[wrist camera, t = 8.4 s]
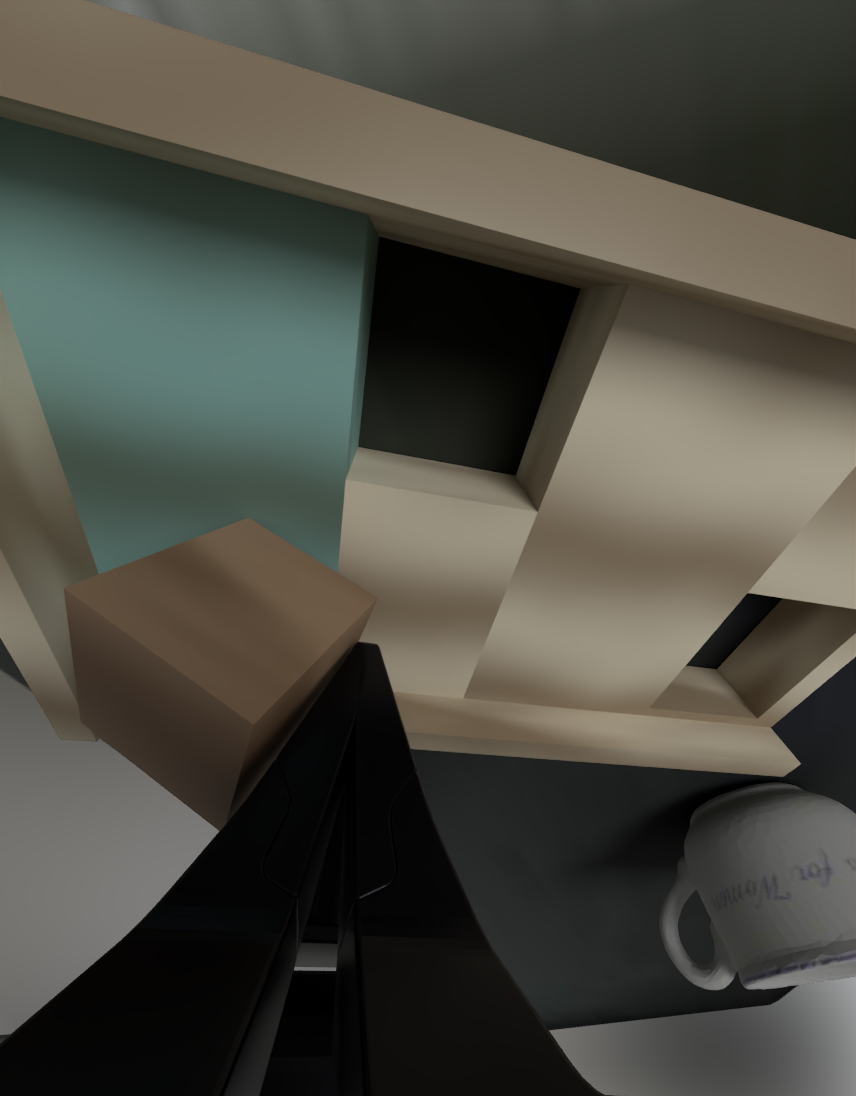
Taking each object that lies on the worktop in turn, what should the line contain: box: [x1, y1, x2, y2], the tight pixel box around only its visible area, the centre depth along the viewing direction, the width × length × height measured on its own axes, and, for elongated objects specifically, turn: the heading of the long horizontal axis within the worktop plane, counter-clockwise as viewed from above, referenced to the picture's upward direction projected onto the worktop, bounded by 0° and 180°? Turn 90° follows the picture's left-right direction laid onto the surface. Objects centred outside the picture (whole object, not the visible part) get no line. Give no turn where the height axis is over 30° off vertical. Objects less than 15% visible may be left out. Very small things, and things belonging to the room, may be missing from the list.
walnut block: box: [64, 518, 378, 831], centre depth 9 cm, size 4×4×4 cm
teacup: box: [659, 782, 856, 990], centre depth 23 cm, size 14×11×8 cm
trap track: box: [0, 0, 856, 777], centre depth 11 cm, size 15×26×4 cm, turn 79°
